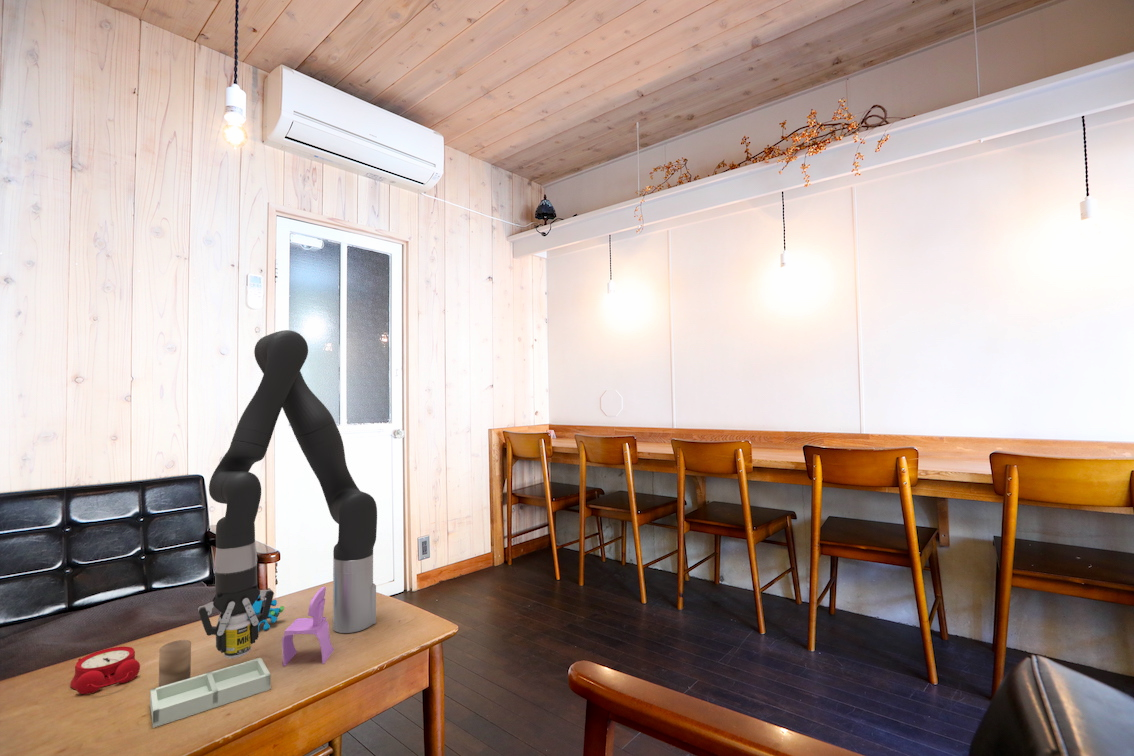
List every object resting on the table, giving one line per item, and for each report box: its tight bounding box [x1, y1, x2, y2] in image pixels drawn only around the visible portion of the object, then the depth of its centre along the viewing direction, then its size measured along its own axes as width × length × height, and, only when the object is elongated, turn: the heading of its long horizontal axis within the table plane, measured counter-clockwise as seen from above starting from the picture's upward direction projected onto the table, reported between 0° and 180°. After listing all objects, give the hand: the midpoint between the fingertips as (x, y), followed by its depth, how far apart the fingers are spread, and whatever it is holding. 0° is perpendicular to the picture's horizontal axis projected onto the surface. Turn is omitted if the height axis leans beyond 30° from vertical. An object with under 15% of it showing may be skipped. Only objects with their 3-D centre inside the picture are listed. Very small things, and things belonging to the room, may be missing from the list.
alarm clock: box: [70, 646, 141, 695], centre depth 107 cm, size 10×6×15 cm
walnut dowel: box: [158, 639, 192, 687], centre depth 104 cm, size 5×5×8 cm
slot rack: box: [149, 657, 272, 729], centre depth 100 cm, size 18×9×3 cm, turn 131°
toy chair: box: [281, 585, 335, 667], centre depth 115 cm, size 8×9×15 cm
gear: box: [248, 596, 285, 633], centre depth 131 cm, size 11×6×10 cm
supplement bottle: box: [223, 612, 252, 659], centre depth 111 cm, size 5×5×8 cm
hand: (237, 646), depth 111 cm, fingers closed on supplement bottle, 4 cm apart
